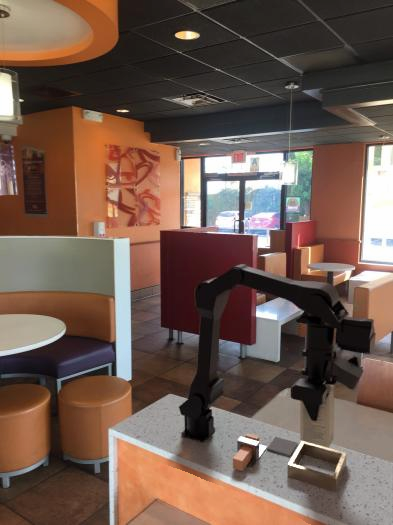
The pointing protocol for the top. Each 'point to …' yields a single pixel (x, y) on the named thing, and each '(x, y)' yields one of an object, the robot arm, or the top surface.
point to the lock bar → (244, 454)
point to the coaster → (282, 446)
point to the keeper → (257, 449)
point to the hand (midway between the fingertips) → (317, 415)
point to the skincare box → (319, 422)
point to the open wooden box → (312, 475)
